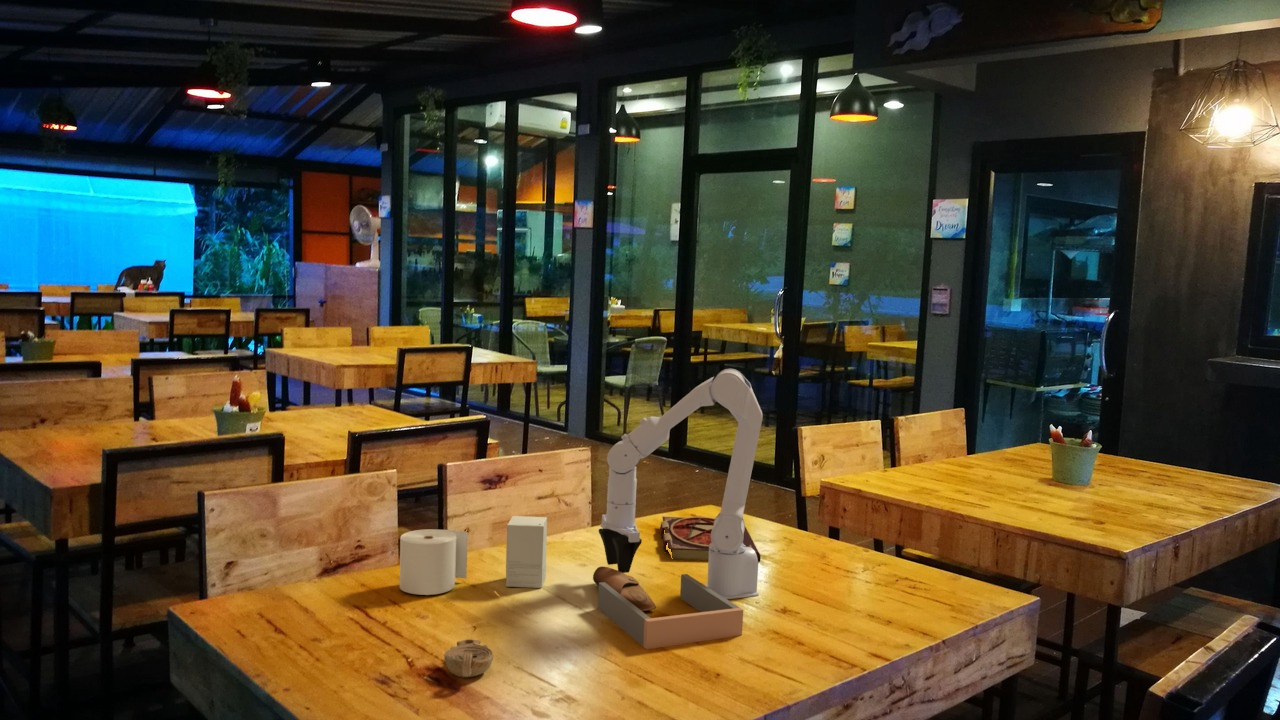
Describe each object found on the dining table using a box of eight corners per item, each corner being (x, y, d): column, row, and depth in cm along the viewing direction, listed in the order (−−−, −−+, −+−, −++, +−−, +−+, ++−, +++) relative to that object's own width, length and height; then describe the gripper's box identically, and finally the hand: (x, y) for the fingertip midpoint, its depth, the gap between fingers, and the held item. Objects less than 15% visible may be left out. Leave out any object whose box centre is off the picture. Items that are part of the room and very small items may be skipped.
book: (760, 566, 213) (761, 544, 213) (664, 563, 212) (665, 540, 212) (743, 532, 241) (744, 512, 241) (658, 529, 241) (659, 509, 240)
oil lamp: (448, 655, 155) (449, 625, 155) (495, 656, 156) (496, 626, 156) (438, 690, 142) (439, 657, 142) (489, 691, 143) (490, 658, 142)
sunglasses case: (659, 607, 178) (641, 578, 177) (628, 629, 177) (610, 601, 175) (633, 577, 196) (616, 551, 194) (604, 598, 194) (587, 572, 193)
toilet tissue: (387, 590, 185) (388, 538, 184) (424, 573, 196) (425, 524, 196) (434, 599, 181) (436, 546, 180) (469, 581, 192) (470, 532, 192)
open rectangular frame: (685, 599, 187) (686, 573, 187) (741, 637, 168) (743, 609, 168) (597, 609, 180) (598, 582, 179) (646, 650, 161) (647, 621, 160)
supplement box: (546, 577, 197) (548, 516, 196) (541, 589, 190) (544, 525, 189) (510, 575, 197) (512, 514, 196) (504, 587, 190) (506, 524, 189)
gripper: (589, 494, 198) (586, 559, 199) (617, 511, 184) (614, 580, 186) (621, 492, 201) (617, 556, 202) (650, 509, 187) (647, 577, 189)
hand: (618, 568), depth 194 cm, fingers open, 5 cm apart
